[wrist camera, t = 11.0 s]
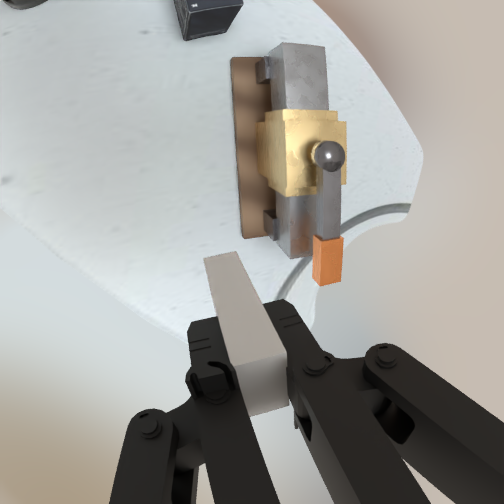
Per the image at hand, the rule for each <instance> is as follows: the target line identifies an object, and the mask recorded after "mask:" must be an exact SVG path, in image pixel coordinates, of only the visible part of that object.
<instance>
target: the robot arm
mask: <svg viewBox="0 0 504 504" xmlns="http://www.w3.org/2000/svg"><path fill="white" fill-rule="evenodd" d="M3 1H4V2H5V3H6V4H8V5H9V6H11V7H12V8H15V9H27V8H31V7H34V6H36V5H39V4H41V3H43V2H45V1H47V0H3ZM203 259H204V264H205V268H206V273H207V277H208V282H209V286H210V291H211V295H212V299H213V303H214V308H215V312H216V315H217V316H216V317H211V318H207V319H203V320H198V321H194V322H191V324H190V326H189V329H188V331H187V336H188V343H189V351H190V358H191V367H190V369H189V370H188V372H187V374H186V379H185V382H186V384H187V386H188V389H189V391H190V393H191V397H190V398H189V399H188V400H187V401H186V402H185V403H184V404H182V405H181V406H179V407H177V408H175V409H173V410H171V411H169V412H167V413H165V412H164V411H162V410H158V409H146V410H144V411H141V412H139V413H137V414H136V415H135V416H134V417H133V418H132V419H131V421H130V423H129V425H128V428H127V431H126V435H125V439H124V443H123V446H122V451H121V454H120V459H119V463H118V466H117V471H116V475H115V479H114V484H113V488H112V493H111V497H110V502H109V504H196V496H197V495H196V494H197V483H198V472H199V466H200V465H202V464H204V463H205V464H206V469H207V473H208V477H209V482H210V486H211V490H212V494H213V498H214V503H215V504H280V502H279V499H278V496H277V494H276V491H275V488H274V486H273V483H272V480H271V478H270V475H269V472H268V470H267V467H266V464H265V461H264V458H263V455H262V453H261V450H260V447H259V444H258V441H257V438H256V435H255V432H254V429H253V427H252V423H251V420H250V417H251V416H255V415H258V414H262V413H266V412H269V411H272V410H276V409H279V408H283V407H286V406H289V399H290V401H291V403H292V406H293V408H294V425H295V429H298V427H299V429H300V431H301V433H302V435H303V437H304V440H305V442H306V444H307V446H308V448H309V451H310V453H311V455H312V457H313V459H314V462H315V464H316V466H317V468H318V470H319V472H320V474H321V476H322V478H323V481H324V483H325V485H326V487H327V489H328V491H329V493H330V495H331V498H332V500H333V502H334V504H431V503H430V501H429V500H428V498H427V497H426V495H425V493H424V492H423V491H422V489H421V487H420V485H419V484H418V482H417V481H416V479H415V478H414V476H413V475H412V473H411V471H410V470H409V468H408V467H407V465H406V464H405V462H404V461H403V459H404V460H405V461H406V462H407V463H408V464H409V465H411V466H412V467H413V468H414V469H415V470H416V471H417V472H419V473H420V474H421V475H422V476H423V477H425V478H426V479H427V480H428V481H429V482H430V483H431V484H433V485H434V486H435V487H436V488H437V489H438V490H440V491H441V492H442V493H443V494H445V495H446V496H447V497H448V498H449V499H451V500H452V501H453V502H454V503H455V504H504V423H503V422H502V421H501V420H499V419H498V418H497V417H495V416H494V415H492V414H491V413H489V412H488V411H487V410H486V409H484V408H483V407H481V406H480V405H479V404H477V403H476V402H475V401H473V400H472V399H470V398H469V397H468V396H466V395H465V394H464V393H462V392H461V391H459V390H458V389H457V388H455V387H454V386H452V385H451V384H450V383H448V382H447V381H446V380H444V379H443V378H441V377H440V376H439V375H437V374H436V373H435V372H433V371H432V370H430V369H429V368H428V367H426V366H425V365H423V364H422V363H421V362H419V361H418V360H416V359H415V358H414V357H412V356H411V355H409V354H408V353H407V352H405V351H404V350H402V349H401V348H399V347H397V346H395V345H393V344H388V343H382V344H377V345H375V346H372V347H371V348H370V349H369V350H368V351H367V352H366V355H365V357H360V358H351V359H340V358H335V357H334V356H333V355H332V354H330V353H328V352H326V351H323V350H322V349H321V348H320V346H319V345H318V343H317V341H316V340H315V338H314V337H313V335H312V334H311V332H310V331H309V329H308V327H307V326H306V324H305V323H304V322H303V320H302V318H301V317H300V315H299V314H298V312H297V310H296V309H295V307H294V306H293V305H292V304H290V303H289V302H287V301H286V300H284V299H281V300H277V301H273V302H269V303H265V304H262V302H261V300H260V298H259V296H258V294H257V292H256V290H255V288H254V286H253V284H252V282H251V280H250V278H249V276H248V274H247V272H246V270H245V268H244V266H243V264H242V262H241V260H240V258H239V256H238V254H237V252H236V251H234V252H229V253H225V254H220V255H216V256H211V257H207V258H203ZM401 457H402V458H403V459H402V458H401Z"/></svg>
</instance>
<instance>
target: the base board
mask: <svg viewBox="0 0 504 504" xmlns="http://www.w3.org/2000/svg"><path fill="white" fill-rule="evenodd" d="M262 58H263V57H232V59H231V75H232V92H233V108H234V124H235V139H236V155H237V170H238V184H239V199H240V213H241V227H242V236H243V238H244V239H249V238H256V237H263V236H269V235H268V234H267V233H266V232H265V231H264V221H263V210H269V209H276V191H275V190H274V189H272V188H271V187H269V186H268V178H267V177H265V176H263V175H261V174H259V173H258V168H257V149H256V131H255V123H257V122H265V112H270V111H272V102H271V85H270V84H256V69H255V63H257V62H258V61H259V60H261V59H262Z"/></svg>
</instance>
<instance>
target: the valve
mask: <svg viewBox="0 0 504 504" xmlns="http://www.w3.org/2000/svg"><path fill="white" fill-rule="evenodd" d="M268 54H269V56H264V57H263V58H262V59H261V60H259V61H258V62H257V63H255V69H256V84H270V85H271V102H272V111H270V112H265V122H257V123H255V131H256V149H257V168H258V173H259V174H261V175H263V176H265V177H267V178H268V186H269V187H271V188H272V189H274V190H275V191H276V209H269V210H263V221H264V231H265V232H266V233H267V234H268V235H269V236H270V238H271V239H272V240H273V241H276V240H277V244H278V246H279V247H280V248H281V249H282V250H283V251H284V252H285V254H286V255H287V256H288V257H289V258H290V259H294V258H300V257H306V256H312V255H313V235H316V234H317V189H316V166H315V165H314V164H313V162H312V159H311V151H312V148H313V147H314V145H315V144H316V143H317V142H319V141H322V140H328V141H335V142H337V143H339V144H340V145H341V146H342V147H343V149H344V151H345V162H344V164H343V166H342V167H341V185H343V184H346V162H347V144H346V122H344V121H338V115H337V111H329V103H328V84H327V68H326V55H325V47H322V46H315V45H306V44H296V43H283V42H282V43H281V44H280V45H278V46H277V47H276V48H274V49H273V50H272V51H270V52H269V53H268Z"/></svg>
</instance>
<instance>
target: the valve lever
mask: <svg viewBox="0 0 504 504" xmlns="http://www.w3.org/2000/svg"><path fill="white" fill-rule="evenodd" d="M311 159H312V162H313V164H314V165H315V166H316V189H317V234H316V235H313V273H312V278H313V279H314V280H315V281H316V282H317V284H318V285H319V286H324V285H328V284H332V283H336V282H340V281H341V270H342V257H343V256H342V255H343V239H344V238H343V237H341V236H340V221H341V167H342V166H343V164H344V162H345V151H344V149H343V147H342V146H341V145H340V144H339V143H337V142H335V141H328V140H322V141H319V142H317V143H316V144H315V145H314V147H313V148H312V151H311Z"/></svg>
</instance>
